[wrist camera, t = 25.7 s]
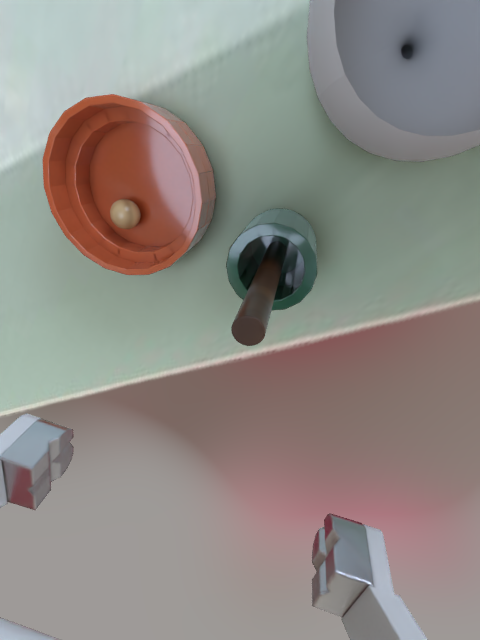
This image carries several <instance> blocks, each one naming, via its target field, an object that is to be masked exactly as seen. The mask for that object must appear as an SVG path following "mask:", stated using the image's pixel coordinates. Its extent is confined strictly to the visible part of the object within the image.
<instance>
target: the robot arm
mask: <svg viewBox="0 0 480 640" xmlns="http://www.w3.org/2000/svg"><path fill="white" fill-rule="evenodd" d="M72 438H73V429H70V428H67V427H64V426H61V425H59V424H55V423H53V422H50V421H47V420H44V419H42V418H39V417H36V416H33V415H30V414H27V413H26V414H24V415H22V416H20V417H19V418H18V419H17V420H16V421H14V422H13V423H12V424H11V425H10V426H9V427H8V428H7V429H5V430H4V431H3V432H2V433H1V434H0V508H1V507H3V506H4V505H6V504H7V503H8V502H10V503H13V504H17V505H20V506H23V507H27V508H30V509H33V510H36V509H37V507H38V506H39V505H40V503H41V502H42V501H43V500H44V498H45V497H46V496H47V494H48V493H49V492H50V491H51V482H52V481H54V480H56V479H58V478H60V477H61V476H62V475H63V474H64V472H65V471H66V469H67V468H68V466H69V464H70V462H71V459H72V456H73V446H72V444H71V443H70V441H71V439H72ZM312 563H313V565H314V567H315V569H316V571H317V572H316V574H315V576H314V578H313V579H312V606H313V607H316V608H319V609H321V610H324V611H326V612H329V613H332V614H334V615H337V616H340V617H342V622H343V624H344V626H345V629H346V631H347V634H348V636H349V638H350V640H428V639H427V638H426V636H425V635H424V634H423V631H422V630H421V628H420V627H419V625H418V624H417V622H416V621H415V619H414V617H413V616H412V614H411V613H410V611H409V610H408V608H407V606H406V605H405V604H404V602H403V600H402V599H401V597H400V596H399V595H396V594H394V590H393V585H392V579H391V574H390V569H389V564H388V558H387V553H386V548H385V542H384V537H383V533H382V532H381V530H379V529H377V528H373V527H370V526H367V525H363V524H362V523H359V522H356V521H353V520H350V519H347V518H343V517H340V516H337V515H333V514H328V515H327V516H326V518H325V520H324V527H323V528H320V529H319V530H318V532H317V534H316V536H315V540H314V543H313V552H312ZM0 640H61V639H58V638H55V637H52V636H49V635H47V634H44V633H41V632H39V631H36V630H34V629H31V628H28V627H25V626H23V625H19V624H17V623H15V622H12V621H9V620H6V619H4V618H1V617H0Z"/></svg>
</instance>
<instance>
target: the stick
mask: <svg viewBox="0 0 480 640" xmlns="http://www.w3.org/2000/svg"><path fill="white" fill-rule="evenodd" d="M285 256H286V247H285V245H284V244H283V243H281V242H278V241H276V242H272V243H271V244H270V245H269V246H268V248H267V250H266V252H265V255H264V257H263V259H262V261H261V263H260V265H259V268H258V270H257V272H256V274H255V276H254V278H253V281H252V283H251V285H250V287H249V289H248V291H247V294H246V296H245V298H244V300H243V302H242V304H241V307H240V309H239V311H238V313H237V315H236V317H235V320H234V322H233V324H232V334H233V336H234V338H235V339H236V340H237V341H238V342H239V343H241V344H243V345H247V346H252V345H256V344H258V343H260V342H261V341H262V340H263V338H264V336H265V333H266V329H267V325H268V321H269V317H270V313H271V309H272V306H273V302H274V298H275V294H276V290H277V286H278V283H279V279H280V275H281V271H282V267H283V263H284V259H285Z"/></svg>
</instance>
